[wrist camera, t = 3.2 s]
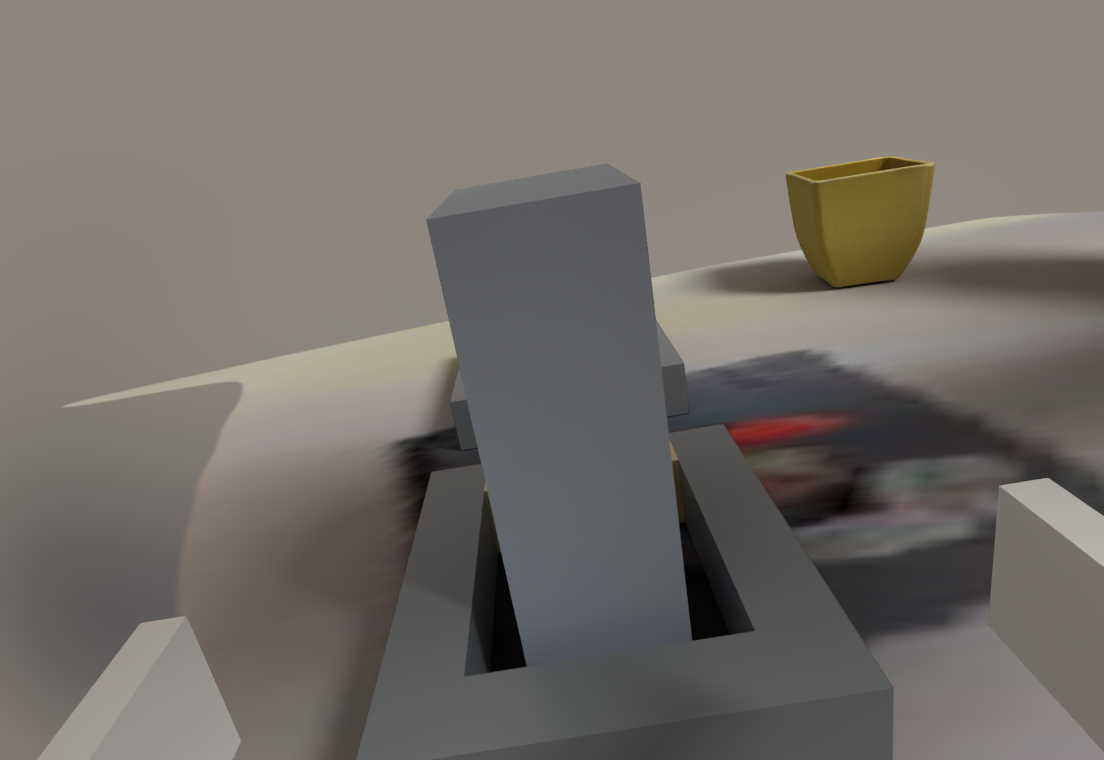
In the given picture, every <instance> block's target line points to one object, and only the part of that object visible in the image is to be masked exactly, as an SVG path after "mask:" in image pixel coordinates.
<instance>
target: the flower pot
mask: <svg viewBox="0 0 1104 760" xmlns="http://www.w3.org/2000/svg"><path fill="white" fill-rule="evenodd" d="M934 167H935V163H933V162H928V161H919V160H910V159H905V158H900V157H893V156H888V157H880V158H874V159H867V160H861V161H856V162H849V163H843V164H837V165H831V166H824V167H818V168H812V169H806V170H799V171H793V172H787V173H786V181H787V188H788V194H789V200H790V206H791V212H792V218H793V224H794V229H795V232H796V236H797V239H798V242H799V244H800V247H801V249H802V251H803V253H804V255H805V257H806V259H807V260H808V262H809V264H810V265H811V267H812V268H813V270H814V271H815V273H816V275H818V276H819V277H821V278H822V279H823V280H825V281H826V282H827V283H829V284H830V285H831V286H833V287H845V286H850V285H856V284H863V283H870V282H878V281H890V280H892V279H897V278H898V277H899V276H900V275H901V274H902V273H903V271H904V270H905V269H906V267H907V266H908V264H909V263H910V261H911V259H912V258H913V256H914V254H915V252H916V251H917V249H918V246H919V244H920V242H921V239H922V236H923V233H924V229H925V225H926V220H927V213H928V208H929V201H930V195H931V188H932V181H933V174H934Z"/></svg>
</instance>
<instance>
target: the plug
mask: <svg viewBox="0 0 1104 760" xmlns="http://www.w3.org/2000/svg"><path fill="white" fill-rule="evenodd" d="M427 225H428V229H429V234H430V238H431V243H432V247H433V251H434V256H435V261H436V265H437V269H438V273H439V278H440V282H441V287H442V292H443V296H444V301H445V305H446V309H447V313H448V318H449V323H450V327H451V332H452V336H453V340H454V345H455V349H456V354H457V358H458V363H459V367H460V372H461V376H462V380H463V385H464V389H465V394H466V398H467V403H468V407H469V412H470V416H471V420H472V425H473V429H474V434H475V438H476V443H477V447H478V452H479V456H480V460H481V465H482V469H483V474H484V478H485V483H486V487H487V492H488V496H489V500H490V505H491V509H492V514H493V518H494V523H495V527H496V532H497V536H498V540H499V545H500V549H501V554H502V558H503V563H504V567H505V572H506V576H507V580H508V585H509V589H510V594H511V598H512V603H513V607H514V612H515V616H516V620H517V625H518V629H519V634H520V638H521V643H522V647H523V652H524V656H525V660H526V665H527V667H529V666H535V665H541V664H548V663H554V662H561V661H567V660H573V659H580V658H586V657H592V656H599V655H605V654H612V653H618V652H624V651H631V650H637V649H643V648H650V647H656V646H663V645H669V644H675V643H682V642H688V641H692V634H691V626H690V617H689V608H688V599H687V590H686V582H685V573H684V564H683V555H682V546H681V537H680V529H679V520H678V511H677V502H676V493H675V485H674V476H673V467H672V458H671V449H670V440H669V432H668V423H667V414H666V405H665V396H664V388H663V379H662V370H661V361H660V352H659V343H658V335H657V326H656V317H655V308H654V299H653V291H652V282H651V273H650V264H649V255H648V247H647V238H646V229H645V220H644V211H643V202H642V194H641V185H640V183H639V182H638V181H636V180H635V179H633V178H631V177H629V176H627V175H626V174H624V173H622V172H621V171H619V170H617V169H615V168H614V167H612V166H610V165H608V164H601V165H596V166H590V167H584V168H578V169H573V170H567V171H561V172H556V173H550V174H544V175H538V176H532V177H526V178H521V179H515V180H509V181H503V182H498V183H492V184H486V185H480V186H474V187H469V188H463V189H457V190H454V191H453V192H452V193H451V194H450V195H449V197H448V198H447V199H446V200H445V201H444V202H443V203H442V204H441V205H440V206H439V207H438V208H437V209H436V210H435V211H434V212H433V213H432V214H431V215H430V216H429V217H428V218H427Z"/></svg>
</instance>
